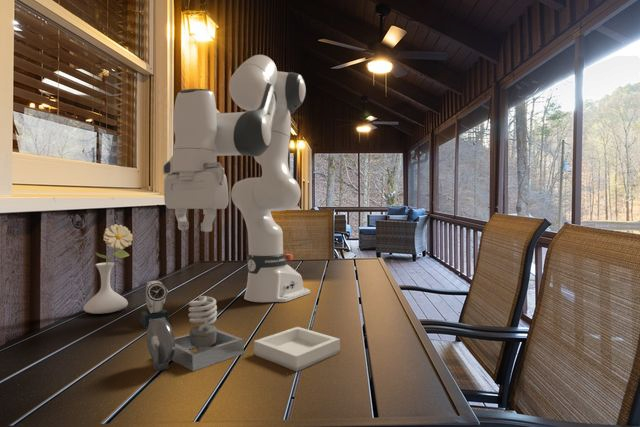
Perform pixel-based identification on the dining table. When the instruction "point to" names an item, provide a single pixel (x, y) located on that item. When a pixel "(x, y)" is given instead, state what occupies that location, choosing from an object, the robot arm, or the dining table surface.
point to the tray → (296, 348)
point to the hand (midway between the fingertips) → (194, 230)
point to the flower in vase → (106, 296)
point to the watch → (154, 303)
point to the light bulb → (205, 332)
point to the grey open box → (178, 351)
